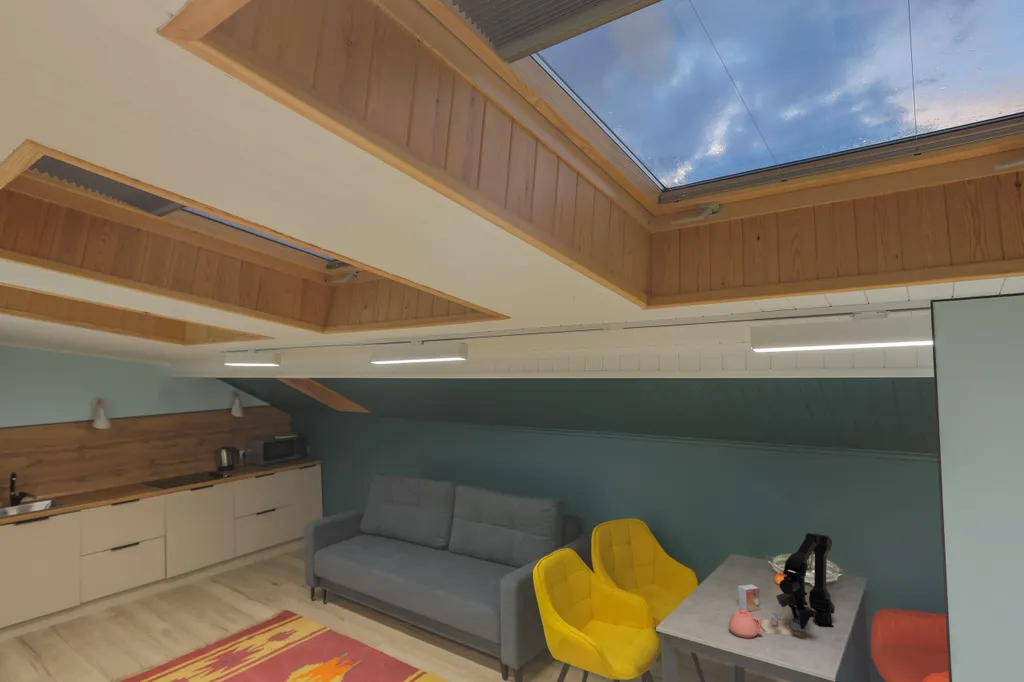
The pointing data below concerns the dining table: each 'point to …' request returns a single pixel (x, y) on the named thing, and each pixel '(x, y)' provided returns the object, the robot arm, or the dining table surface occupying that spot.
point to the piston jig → (775, 625)
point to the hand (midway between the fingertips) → (799, 625)
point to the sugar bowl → (744, 624)
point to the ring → (797, 624)
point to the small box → (749, 598)
